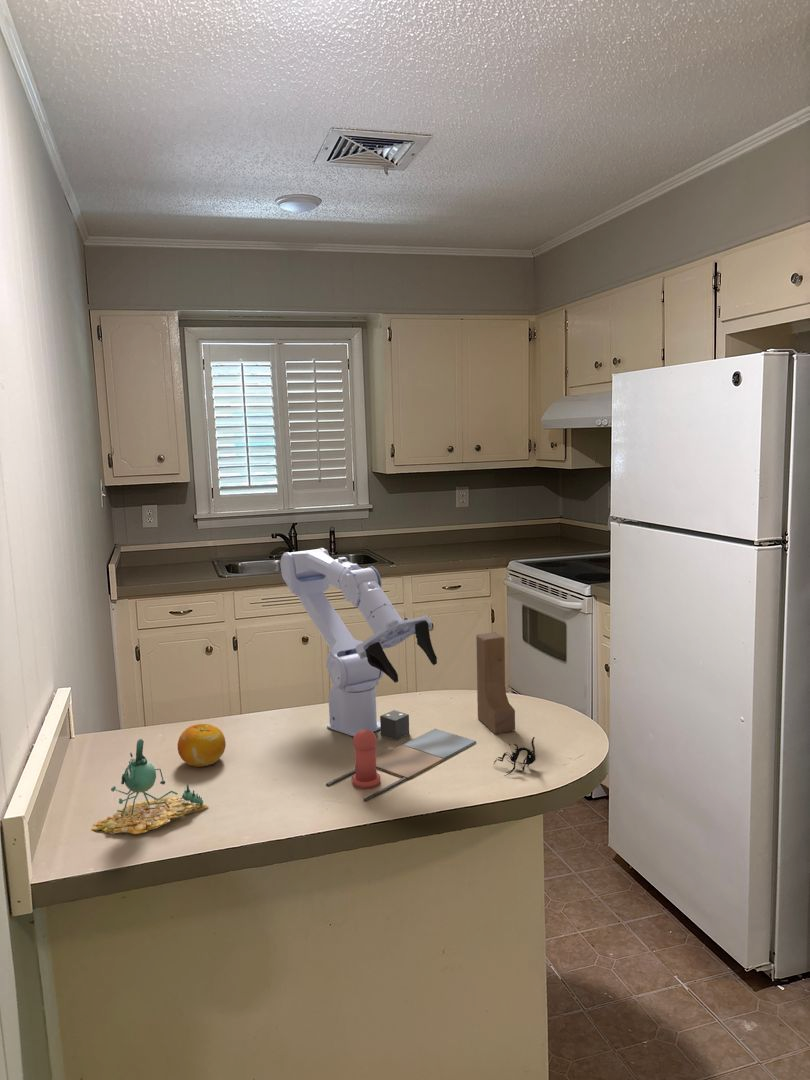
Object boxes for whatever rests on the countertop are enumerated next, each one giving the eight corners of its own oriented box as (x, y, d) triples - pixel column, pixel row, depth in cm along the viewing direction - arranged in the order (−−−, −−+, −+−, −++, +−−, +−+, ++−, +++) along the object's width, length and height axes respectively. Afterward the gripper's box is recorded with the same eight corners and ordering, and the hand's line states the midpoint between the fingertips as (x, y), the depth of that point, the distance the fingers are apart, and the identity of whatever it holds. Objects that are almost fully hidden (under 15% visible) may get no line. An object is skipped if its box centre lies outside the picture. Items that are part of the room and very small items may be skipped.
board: (325, 784, 136) (325, 782, 136) (435, 730, 158) (435, 728, 158) (367, 802, 129) (367, 799, 129) (475, 742, 151) (475, 740, 151)
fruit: (210, 758, 140) (204, 714, 143) (170, 772, 142) (165, 728, 145) (236, 761, 147) (231, 719, 150) (198, 774, 149) (193, 732, 153)
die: (380, 735, 156) (380, 715, 156) (394, 729, 159) (393, 709, 159) (395, 740, 154) (395, 720, 153) (409, 733, 157) (408, 714, 156)
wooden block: (515, 731, 156) (515, 643, 153) (494, 734, 155) (493, 645, 152) (497, 715, 165) (496, 631, 162) (477, 718, 163) (475, 634, 161)
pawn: (346, 783, 136) (344, 731, 135) (366, 774, 140) (364, 722, 138) (366, 791, 133) (364, 737, 131) (386, 781, 136) (384, 729, 135)
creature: (493, 782, 137) (539, 775, 136) (486, 753, 137) (532, 746, 135) (497, 763, 145) (540, 756, 143) (490, 735, 144) (533, 728, 143)
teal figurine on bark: (208, 830, 122) (190, 741, 120) (87, 856, 120) (66, 766, 117) (211, 800, 132) (195, 717, 129) (99, 824, 129) (80, 739, 126)
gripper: (344, 618, 142) (377, 673, 134) (415, 588, 147) (452, 640, 138) (347, 641, 147) (379, 696, 139) (416, 611, 152) (451, 663, 143)
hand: (415, 670), depth 139 cm, fingers open, 7 cm apart
